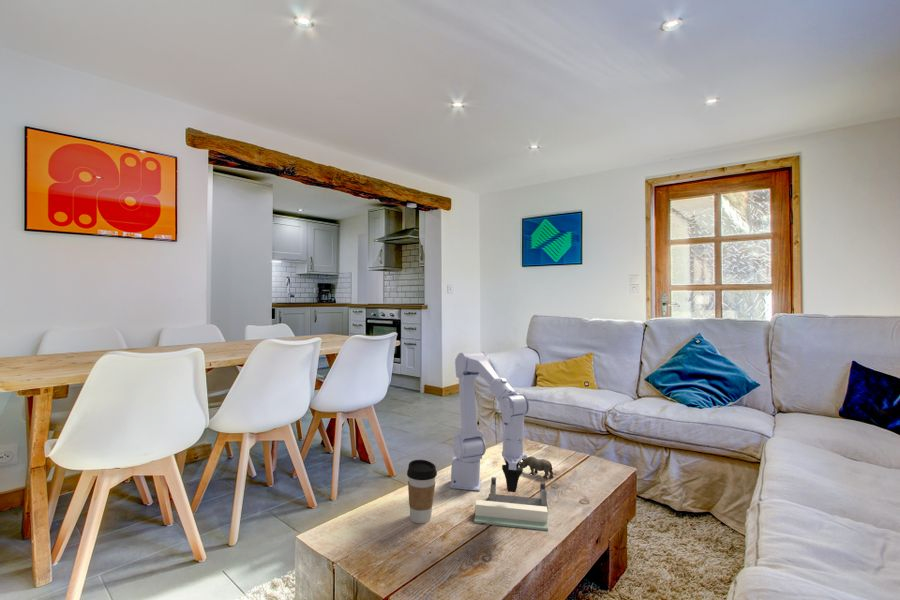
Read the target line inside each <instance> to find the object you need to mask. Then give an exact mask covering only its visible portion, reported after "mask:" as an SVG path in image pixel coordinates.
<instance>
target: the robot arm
mask: <svg viewBox="0 0 900 600" xmlns="http://www.w3.org/2000/svg"><path fill="white" fill-rule="evenodd" d="M454 365H455V377H456V378H457V379H458V389H459V392H458V393H459V407H460V422H461V425H460V426H461V428H460V429H459V430H458V431H457V432H456V433H455V434H454V436H453V437H454V438H453V446H452V450H453V454H454V456H453V457H452V459H451V470H450V471H451V472H450V489H457V490H467V491H478V492H479V491H481V485H482V479H480V474H481V473H480V472H481V460H482V459H483V456H484V455H485V454H486V452H487V444H486V441H485V437H484V435H485V434H484V432H483V431H481V430H480V429H479V428H478V427H477V426H478V425H477V424H478V423H477V410H476V407H477V406H476V394H475V390H476V389H475V380H476V378H477V377H479V376H481V377H482V378H483V380H485V381H486V382H487V384H489V391H490V393H491V394H492V395H493V397H494V398H495V399H496V400H497V402H498V403H499V410H500V412H501V419H502V422H503V425H502V426H503V433H502V451H501V456H502V457H503V460H504V463H505V464H502V466H501V470H502V471H503V474H504V477H505V484H506V488H507V492H509V493H516V492H517V488H518V483H519V481H520V480H519V478H520V477H521V475H522V473H523V471H524V468H521V467H520V466H519V463H520V461H521V462H522V458H527V457H528V453H526V452H524V435H525V434H524V432H525V430H524V429H525V415H527V413H528V412H529V411H530V404H529V400H528V398H527V397H526V395H525V394H523V393H520V392H517V391H516V390H515V389H514V388H513V387H512V386H511V384H510V383H509V382H508V380H507V379H506V378H504V377H499V376H498V374H497V373H496V371H495V370H494V368H493V366H492V365H491V359H490V356H488V354H487V353H486V351H480V352H459V353H458V354H457V356H456V358H455V360H454Z"/></svg>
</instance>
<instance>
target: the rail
mask: <svg viewBox="0 0 900 600" xmlns="http://www.w3.org/2000/svg"><path fill="white" fill-rule="evenodd" d="M474 512H475V514H474V516H475V515H478V516H488V517H497V518H507V519H516V520H526V521H536V522H545V523H547V524H548V516H549V515H548V514H549V509H548V510H547V507H544V506H534V505H524V504H514V503H504V502H494V501H488V500H483V499H482V500H481V499H476V500H475V511H474Z"/></svg>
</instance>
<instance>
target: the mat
mask: <svg viewBox="0 0 900 600" xmlns="http://www.w3.org/2000/svg"><path fill="white" fill-rule="evenodd" d="M474 522H475V523H474ZM473 523H474V524H481V523H486V524H485V525H491V526H492V525H493V526H501V527H502V526H503V527H510V528H511V527H512V528H520V529H529V530H536V531H537V530H540V531H547V532H548V531H549V525H548V522H547V523H545V522H536V521H526V520H516V519H507V518H497V517H488V516H478V515H475V514H474V521H473Z"/></svg>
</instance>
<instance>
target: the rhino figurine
mask: <svg viewBox="0 0 900 600" xmlns="http://www.w3.org/2000/svg"><path fill="white" fill-rule="evenodd" d="M518 467H521V468H523V469H525V468H527V467H529V470H530V473H529V475H530V474H532V475H531V476H534V475H535V473H536V474H539V472H544V475H543V476H542V478H543V479H544V480H547V479H548V478H550V477H551V478H550V479H553V478H554V471H553V468H554V467H553V465H552V462H550V461H549V460H546V459H538V458H537V457H535V456H527V458H522V459H521V461H520V463H519V466H518ZM549 474H550V475H549Z"/></svg>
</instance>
